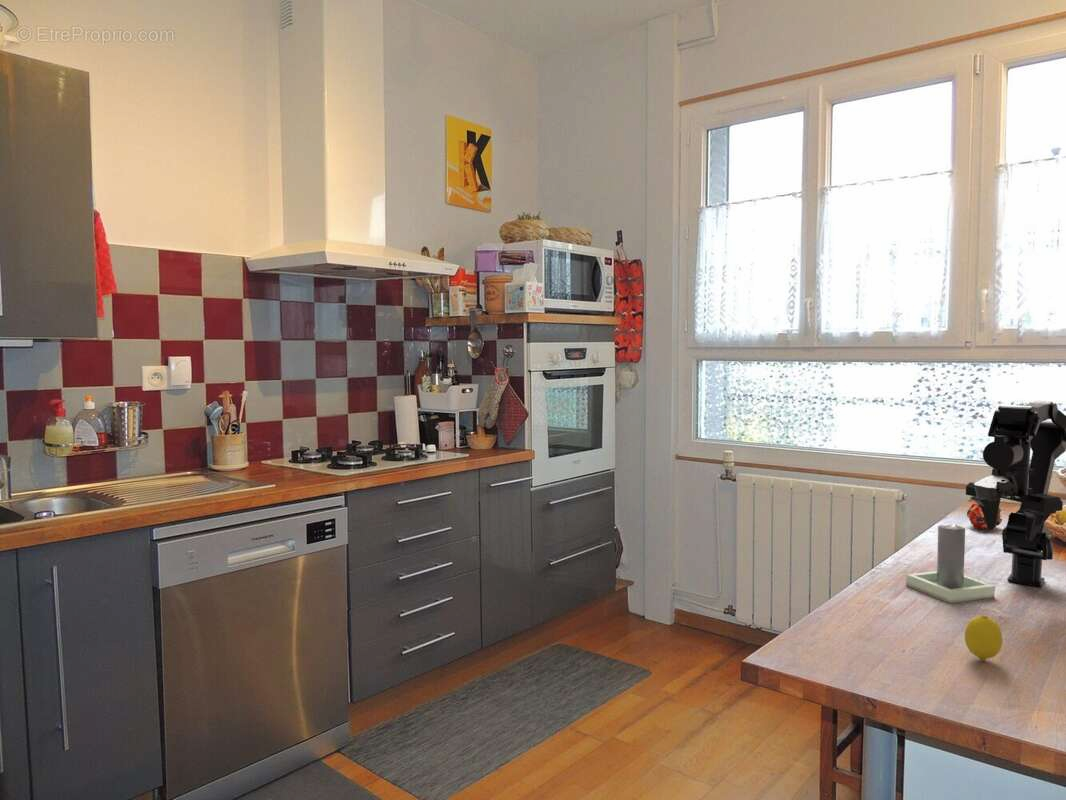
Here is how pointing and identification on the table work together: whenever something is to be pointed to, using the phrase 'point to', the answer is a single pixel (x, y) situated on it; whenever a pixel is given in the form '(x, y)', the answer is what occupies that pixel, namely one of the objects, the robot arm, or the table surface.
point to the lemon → (983, 637)
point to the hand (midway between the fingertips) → (1009, 535)
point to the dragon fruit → (980, 517)
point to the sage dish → (970, 591)
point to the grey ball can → (950, 556)
